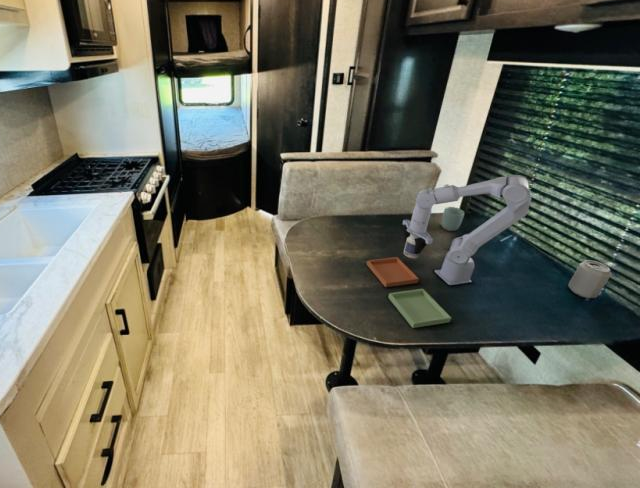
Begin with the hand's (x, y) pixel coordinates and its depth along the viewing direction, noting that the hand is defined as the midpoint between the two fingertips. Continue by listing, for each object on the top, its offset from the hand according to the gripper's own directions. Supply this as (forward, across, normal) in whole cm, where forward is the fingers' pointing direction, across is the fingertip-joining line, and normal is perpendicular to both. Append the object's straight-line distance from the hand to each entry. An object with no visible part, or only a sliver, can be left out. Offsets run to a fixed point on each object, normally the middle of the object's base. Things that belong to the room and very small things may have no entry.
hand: (412, 248), depth 125 cm
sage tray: (+7, +23, -13) cm, 27 cm away
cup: (+7, -19, +35) cm, 40 cm away
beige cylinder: (+7, +26, +50) cm, 57 cm away
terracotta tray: (+7, +5, -11) cm, 14 cm away
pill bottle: (+3, 0, 0) cm, 3 cm away
